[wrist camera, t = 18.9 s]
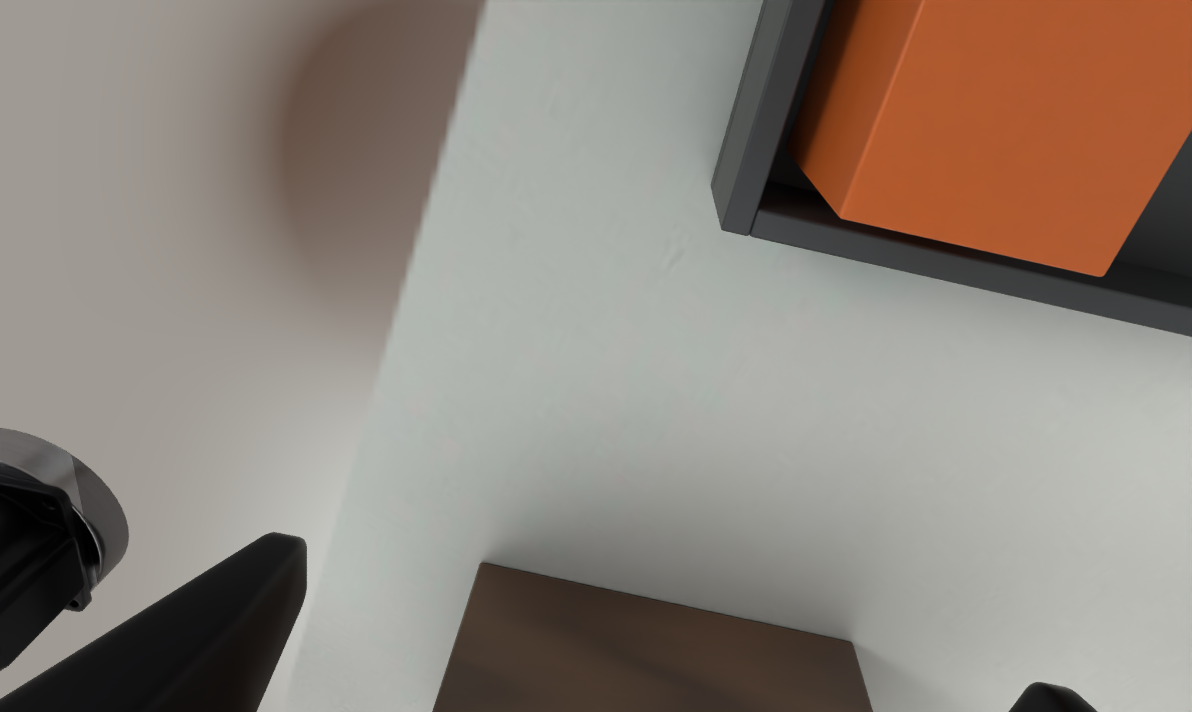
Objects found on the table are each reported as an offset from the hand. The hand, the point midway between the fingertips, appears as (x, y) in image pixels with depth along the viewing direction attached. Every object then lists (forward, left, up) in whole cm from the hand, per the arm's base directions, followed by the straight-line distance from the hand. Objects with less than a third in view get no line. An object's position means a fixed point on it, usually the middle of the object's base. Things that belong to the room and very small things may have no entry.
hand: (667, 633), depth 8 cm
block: (+4, +6, -11) cm, 13 cm away
